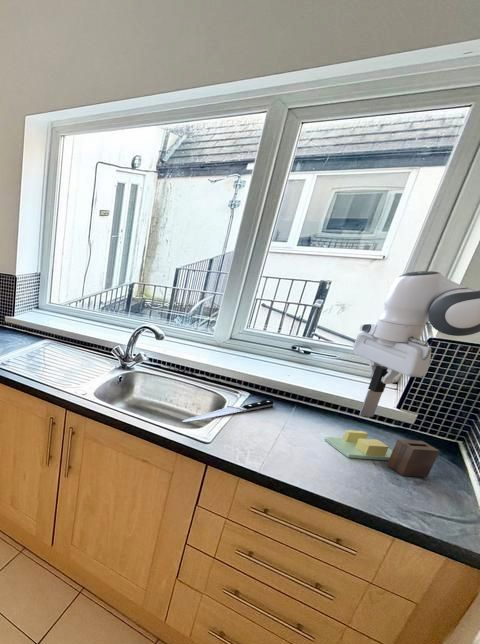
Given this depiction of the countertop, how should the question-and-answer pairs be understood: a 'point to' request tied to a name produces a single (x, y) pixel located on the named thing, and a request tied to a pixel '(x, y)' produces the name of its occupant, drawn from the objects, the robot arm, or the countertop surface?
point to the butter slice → (354, 435)
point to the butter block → (371, 447)
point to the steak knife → (234, 410)
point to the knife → (374, 392)
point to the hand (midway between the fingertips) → (379, 380)
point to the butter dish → (353, 449)
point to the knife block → (412, 458)
